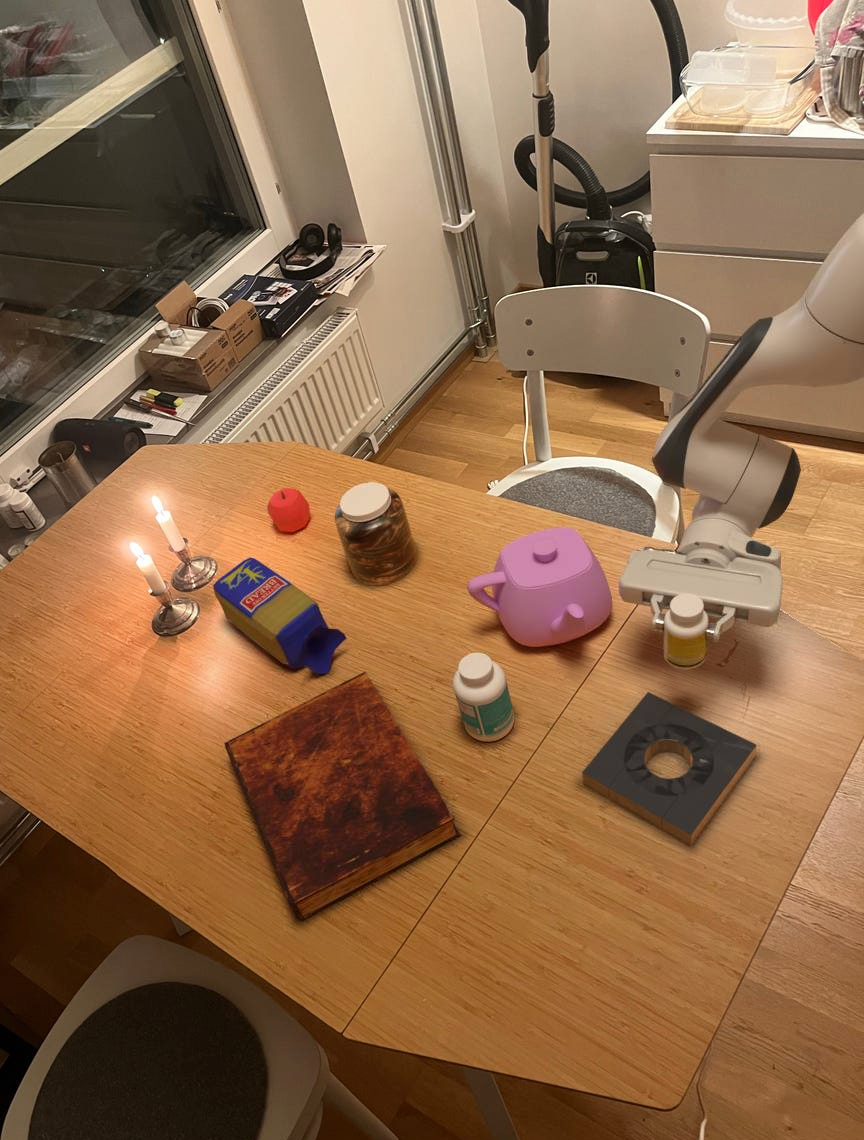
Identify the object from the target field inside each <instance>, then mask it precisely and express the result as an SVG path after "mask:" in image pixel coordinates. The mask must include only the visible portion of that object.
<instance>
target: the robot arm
mask: <svg viewBox="0 0 864 1140" xmlns="http://www.w3.org/2000/svg"><path fill="white" fill-rule="evenodd" d="M863 378H864V213H862V214H860V216H859V217H858V218H857V219H856V220H855V221H854V222H853V223H852V224H851V226H850V227H848V229H847V230H846V231H845V233H844V234H843V235H842V237H841V238H840V239H839V240H838V241H837V243H836V244H835V246H834V247H833V248H832V249H831V251H830V252H829V254H828V255H827V257H826V258H825V259H824V261H823V262H822V264H821V265H820V266H819V268H818V270H817V271H816V272H815V273H814V276H813V277H812V279H811V281H810V283H809V284H808V286H807V288H806V289H805V291H804V293H803V294H802V296H801V297H800V298H799V299H798V300H797V301H796V302H795V303H794V304H793V305H792V306H790V307H789V308H787V309H785V310H783V311H782V312H781V313H779V314H777V315H774V316H769V317H763V318H759V319H758V320H756V321H755V322H754V323H752V324H751V325H750V326H749V327H748V328H747V329H746V330H745V331H744V332H743V333H742V334H741V336H740V337H739V338H738V339H737V340H736V341H735V343H734V344H733V345H732V346H731V347H730V349H729V350H727V352H726V354H724V355H723V357H722V358H721V360H720V361H719V362H718V363H717V365H715V367H714V368H713V370H712V371H711V372H710V373H709V375H708V376H707V377H706V379H705V380H704V381H703V382H702V383H701V385H700V386H699V388H697V390H696V391H695V393H694V394H693V395H692V396H691V398H690V399H689V400H688V401H687V402H686V403H685V405H684V406H683V407H682V408H680V409H679V411H678V412H677V413H676V414H675V416H673V417H672V418H671V419H670V420H669V421H668V423H667V424H666V425H665V426H664V427H663V428H662V430H661V431H660V433H659V435H658V437H657V439H656V441H655V444H654V447H653V452H652V457H651V461H652V464H653V467H654V469H655V471H656V473H657V476H658V477H659V478H660V480H661V482H662V483H664V484H667V485H670V486H674V487H678V488H681V489H684V490H686V489H687V490H689V491H692V492H695V493H696V494H699V495H698V498H697V500H696V502H695V504H694V506H693V509H692V513H691V522H690V523H689V524H687V526H686V528H685V530H684V532H683V535H682V538H681V540H680V543H679V546H678V549H677V550H675V549H674V550H673V549H666V548H655V547H653V546H644V547H643V548H638V549H635V550H633V551H631V553H630V555H629V557H628V560H627V564H626V566H625V567H624V570H623V571H622V573H621V575H620V577H619V580H618V595H619V596H620V598H621V600H622V601H623V602H624V603H630V604H635V605H639V606H646V607H650V612H651V615H652V620H651V630H652V631H656V632H663V633H664V617H665V615H666V613H663V610H667V611H668V610H669V609H670V603H671V601H672V599H673V598H674V597H676V596H678V595H680V594H693V595H696V596H698V597H699V598H700V599H701V600H702V601H703V604H704V611H705V612H706V614H707V616H708V618H712V619H718V621H716V622H712V621H709V625H708V628H707V631H706V640H708V642H714V643H719V640H720V636H721V634H723V633H724V632H726V631H727V630H729V629H730V628H733V626H734V623H740V624H746V625H750V626H751V625H752V626H757V627H762V628H770V627H771V628H772V627H773V626H774V625H777V623H778V621H779V617H780V611H781V604H782V597H783V596H782V595H783V587H784V586H783V584H784V583H783V582H784V581H783V579H784V578H783V573H782V571H781V568H782V554H781V553H782V552H781V550H779V549H778V548H777V547H774V546H772V545H769V544H766V543H764V542H761V541H759V540H757V539H755V538H753V536H754V535H755V534H756V531H757V530H760V529H763V528H765V527H768V526H769V525H771V524H772V523H774V522H776V521H778V520H779V519H780V518H781V517H782V516H783V515H784V514H785V512H786V511H787V509H788V507H789V506H790V504H791V502H792V499H793V497H794V494H795V492H796V488H797V485H798V483H799V478H800V476H801V472H802V467H801V462H800V458H799V456H798V454H797V452H796V450H795V449H794V447H791V446H789V445H787V444H786V443H783V442H780V441H777V440H776V439H772V438H771V437H770V438H769V437H768V436H765V435H763V434H758V433H756V432H753V431H751V430H748V429H745V428H742V427H740V426H737V425H734V424H732V423H729V422H727V421H725V420H723V419H721V416H722V415H723V414H724V413H725V412H726V410H728V409H729V407H730V406H731V405H732V403H733V402H734V401H735V400H736V399H737V398H738V397H739V396H740V394H741V393H743V392H744V391H747V390H749V389H752V388H755V387H763V386H793V387H794V386H795V387H805V388H812V389H813V388H815V389H827V388H834V387H840V386H845V385H848V384H851V383H854V382H856V381H860V380H862V379H863Z"/></svg>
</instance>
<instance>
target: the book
mask: <svg viewBox="0 0 864 1140" xmlns="http://www.w3.org/2000/svg"><path fill="white" fill-rule="evenodd" d="M224 749H225V750H226V753H227V756H228V758H229V760H230V763H231V765H232V768H233V770H234V772H235V776H236V777H237V780H238V783H239V784H240V787H241V790H242V792H243V795H244V797H245V799H246V801H247V804H248V806H249V809H250V811H251V815H252V816H253V819H254V821H255V824H256V826H257V829H258V831H259V833H260V836H261V839H262V841H263V844H264V845H265V848H266V850H267V851H266V852H267V853H268V855H269V858H270V860H271V863H272V865H273V867H274V870H275V872H276V875H277V878H278V880H279V882H280V885H281V888H282V889H283V892H284V894H285V897H286V899H287V901H288V904H289V906H290V907H291V909H292V911H293V912H294V913H295V915H296V916H297V918H298V919H299V920H300V921H302V922H304V921H305V920H308V919H310V918H312V917H313V916H315V915H317V914H320V913H321V912H323V911H324V910H327V909H328V908H331V907H332V906H333V905H336V904H337V903H340V902H342V901H343V900H345V899H348V898H349V897H350V896H353V895H355V894H357V893H358V892H360V891H363V890H364V889H366V888H367V887H369V886H371V885H373V884H375V883H376V882H379V881H380V880H382V879H384V878H386V877H388V876H390V875H391V874H393V873H396V872H397V871H399V870H401V869H403V868H405V867H407V866H409V865H410V864H412V863H414V862H416V861H418V860H419V859H422V858H423V857H425V856H427V855H429V854H431V853H433V852H434V851H436V850H438V849H440V848H442V847H444V846H445V845H447V844H449V843H451V842H453V841H455V840H457V839H458V838H460V837H462V833H461V832H460V830H459V828H458V827H457V825H456V823H455V822H454V820H456V818H455V816H454V814H453V812H452V811H451V809H450V808H449V806H448V805H447V803H446V801H445V800H444V798H443V797H442V795H441V793H440V791H439V790H438V788H437V786H436V785H435V783H434V781H433V779H432V778H431V777H430V775H429V773H428V771H427V770H426V768H425V767H424V764H423V763H422V762H421V760H420V758H419V757H418V755H417V753H416V752H415V750H414V748H413V747H412V745H411V744H410V742H409V741H408V738H407V737H406V736H405V734H404V731H403V730H402V729H401V727H400V725H399V724H398V722H397V720H396V719H395V717H394V715H393V714H392V712H391V711H390V709H389V708H388V705H387V704H386V702H385V700H383V698H382V695H381V694H380V693H379V691H378V689H377V687H376V686H375V684H374V682H373V681H372V679H371V678H370V676H369V675H368V673H367V671H363V672H362V673H360V674H357V675H356V676H353V677H352V678H350V679H347V680H345V681H343V682H342V683H339V684H338V685H336V686H333V687H332V688H330V689H327V690H326V691H324V692H322V693H320V694H317V695H316V696H314V697H312V698H310V699H308V700H306V701H304V702H302V703H300V704H298V705H297V706H294V707H292V708H290V709H288V710H287V711H284V712H282V713H280V714H279V715H277V716H275V717H272V718H270V719H269V720H267V721H264V722H263V723H261V724H258V725H257V726H255V727H253V728H251V729H249V730H247V731H245V732H242V733H241V734H239V735H237V736H235V737H233V738H231V739H229V740H227V741H225V742H224Z"/></svg>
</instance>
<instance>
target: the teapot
mask: <svg viewBox="0 0 864 1140" xmlns="http://www.w3.org/2000/svg"><path fill="white" fill-rule="evenodd" d="M605 574H606V573H605V571H604V570H603V567H602V565H601V563H600V561H599V559H598V558H597V556H596V555H595V553H594V552H593V550H592V549H591V548H590V546H589V544H588V543H587V542H586V541H585V539H584V538H583V537H582V536H581V534H580V533H579V532H578V531H577V530H576V529H575V528H573V527H568V526H567V527H566V526H561V527H552V528H547V529H542V530H538V531H535V532H531V533H529V534H526V535H523V536H521V537H519V538H516V539H514V540H512V541H511V542H510V543H507V544H506V545H505V546H503V548H502V550H500V553H499V554H498V558H497V560H496V562H495V565H494V569H493V572H489V573H484V574H480V575H478V576H475V577H473V578H471V579H470V580H469V581H468V582H467V584H466V585H467V586H466V589H467V592H468V594H469V595H470V596H471V597H472V599H474V600H475V601H476V602H477V603H479V604H481V605H483V606H484V607H486V608H488V609H490V610H492V611H495V612H496V614H497V617H498V619H499V621H500V623H501V624H502V625H503V628H504V629H505V631H506V632H507V634H508V636H510V637H511V638H512V639H513V640H514V641H515V642H516V643H518V644H520V645H521V646H525V647H532V648H537V647H538V648H540V647H548V646H555V645H559V644H560V645H561V644H564V643H568V642H571V641H573V640H575V639H579V638H580V637H583V636H585V635H587V634H589V633H591V632H592V631H595V630H596V629H597V628H599V627H600V626H601V625H602V624H603V623H604V622H606V620H607V619H608V617H609V616H610V615H611V612H612V609H613V597H612V593H611V589H610V586H609V581H608V579H607V577H606V575H605ZM488 587H491V590H492V591H491V592H492V596H491V595H489V594H488V592H487V591H486V590H485V588H488Z"/></svg>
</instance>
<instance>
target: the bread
mask: <svg viewBox="0 0 864 1140" xmlns="http://www.w3.org/2000/svg"><path fill="white" fill-rule="evenodd" d="M212 587H213V592H214V596H215V598H216V600H217V601H218V603H219V605H220V606H221V609H222V611H223V613H224V616H225V618H226V619H227V620H228V621H229V622H230V623H231V624H233V625H234V626H235V627H236V628H238V629H239V630H240V631H241V632H243V634H245V635H246V636H247V637H248V638H249V639H250V640H252V641H253V642H255V643H256V644H257V645H259V646H260V647H261V648H262V649H264V650H265V651H266V652H267V653H268V654H270V655H271V656H273V657H274V658H275V659H277V660H278V661H279V662H281V663H282V664H283V665H285V666H286V667H288V668H290V669H293V670H295V671H296V670H298V669H302V668H304V667H306V668H308V669H310V670H311V671H313V672H314V673H315V674H321V675H325V674H328V673H331V663H332V658H333V656H334V654H335V652H336V650H337V649H338V648H339V647H340V646H341V645H342V643H343V642H345V641H346V640H347V636H346V634H345V633H344V632H342V631H341V630H339V629H338V628H329V626H328V624H327V622H326V619H325V618H324V616H323V614H322V611H321V609H320V605H319V603H318V602H317V601H316V600H314V599H313V597H311V596H310V595H308V594H306V593H305V592H304V591H303V590H301V589H300V588H298V587H297V586H296V585H295V584H294V583H292V582H290V581H289V580H287V579H286V578H284V577H283V576H281V575H280V574H278V572H276V571H274V570H273V569H271V568H270V567H268V566H267V565H265V564H264V563H262V562H261V561H260V560H258V559H256V558H255V557H248V558H246V559H244V560H242V561H241V562H239V563H238V564H237V565H236V566H234V567H233V568H232V569H231V570H229V571H227V573H225V574H224V575H223V576H221V577H220V578H219V579H217V580H216V582H215V583H213V584H212Z"/></svg>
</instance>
